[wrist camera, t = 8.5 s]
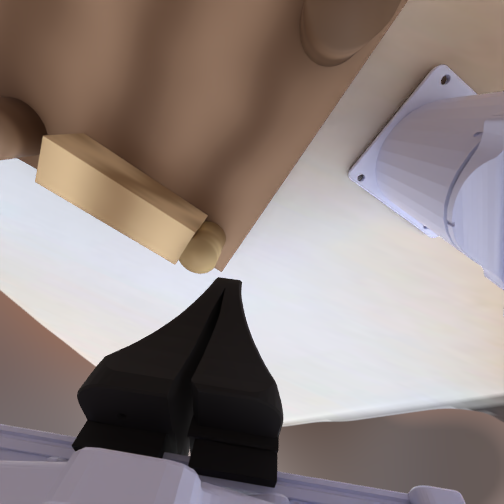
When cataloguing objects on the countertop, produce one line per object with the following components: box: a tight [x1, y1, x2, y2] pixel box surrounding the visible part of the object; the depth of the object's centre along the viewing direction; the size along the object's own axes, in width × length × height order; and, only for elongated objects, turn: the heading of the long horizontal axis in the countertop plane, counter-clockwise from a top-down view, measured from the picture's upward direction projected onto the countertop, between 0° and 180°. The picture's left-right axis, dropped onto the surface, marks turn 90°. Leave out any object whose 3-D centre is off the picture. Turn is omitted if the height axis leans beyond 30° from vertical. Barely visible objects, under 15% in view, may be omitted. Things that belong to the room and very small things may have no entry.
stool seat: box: [0, 0, 408, 272], centre depth 14 cm, size 20×20×6 cm
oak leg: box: [35, 133, 226, 274], centre depth 17 cm, size 12×3×3 cm, turn 55°
